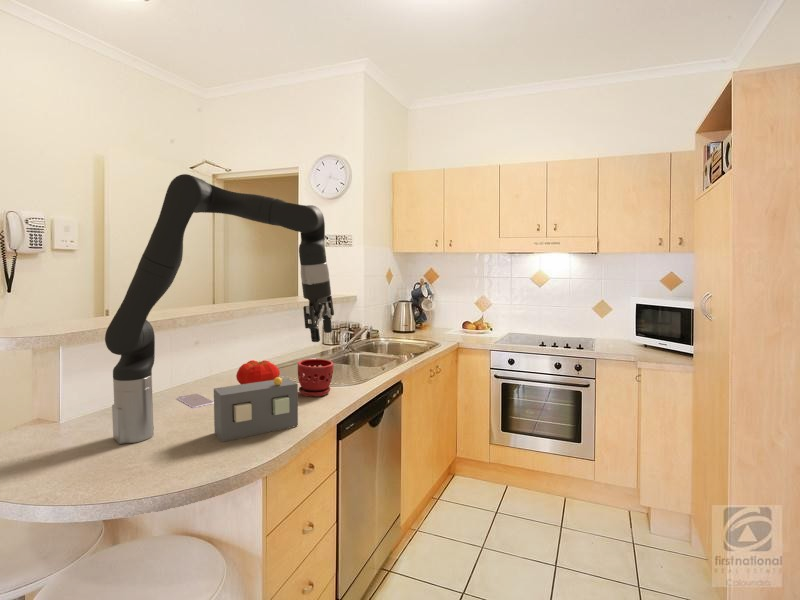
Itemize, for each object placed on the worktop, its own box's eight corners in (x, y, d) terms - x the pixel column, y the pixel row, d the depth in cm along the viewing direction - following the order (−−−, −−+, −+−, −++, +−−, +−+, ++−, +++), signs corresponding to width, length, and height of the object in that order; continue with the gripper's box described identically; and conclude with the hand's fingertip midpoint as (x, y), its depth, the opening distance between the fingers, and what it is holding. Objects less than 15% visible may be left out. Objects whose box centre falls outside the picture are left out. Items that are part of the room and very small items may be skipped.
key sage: (289, 412, 134) (289, 398, 134) (275, 415, 131) (275, 400, 131) (284, 408, 137) (284, 395, 137) (270, 411, 135) (270, 397, 134)
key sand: (251, 419, 128) (251, 404, 127) (236, 422, 125) (236, 407, 125) (247, 415, 131) (247, 401, 130) (232, 418, 128) (231, 403, 128)
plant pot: (297, 399, 164) (297, 366, 163) (297, 389, 176) (297, 358, 175) (334, 397, 167) (334, 365, 166) (331, 387, 179) (331, 357, 178)
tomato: (286, 386, 181) (286, 361, 180) (247, 394, 169) (246, 368, 168) (268, 379, 191) (268, 356, 190) (230, 386, 179) (229, 361, 178)
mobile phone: (193, 406, 153) (175, 396, 163) (193, 409, 153) (175, 399, 163) (215, 401, 158) (197, 392, 169) (215, 404, 158) (197, 395, 169)
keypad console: (297, 426, 138) (297, 375, 137) (221, 441, 125) (220, 386, 124) (287, 418, 144) (287, 370, 143) (214, 432, 132) (213, 380, 130)
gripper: (313, 275, 133) (320, 329, 136) (290, 285, 119) (298, 344, 123) (338, 275, 131) (343, 329, 134) (317, 284, 117) (324, 345, 121)
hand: (322, 336), depth 128 cm, fingers open, 8 cm apart
